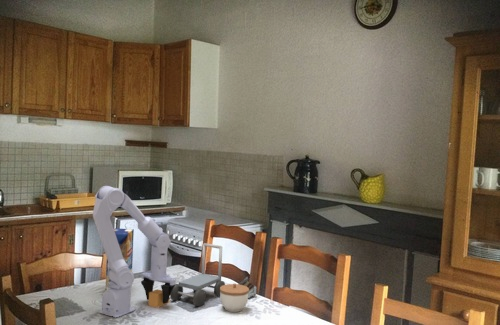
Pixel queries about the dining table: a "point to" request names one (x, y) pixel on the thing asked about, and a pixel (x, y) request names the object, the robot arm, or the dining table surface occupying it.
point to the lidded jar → (234, 297)
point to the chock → (156, 298)
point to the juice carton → (123, 248)
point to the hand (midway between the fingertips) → (157, 300)
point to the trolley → (200, 281)
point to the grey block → (251, 287)
